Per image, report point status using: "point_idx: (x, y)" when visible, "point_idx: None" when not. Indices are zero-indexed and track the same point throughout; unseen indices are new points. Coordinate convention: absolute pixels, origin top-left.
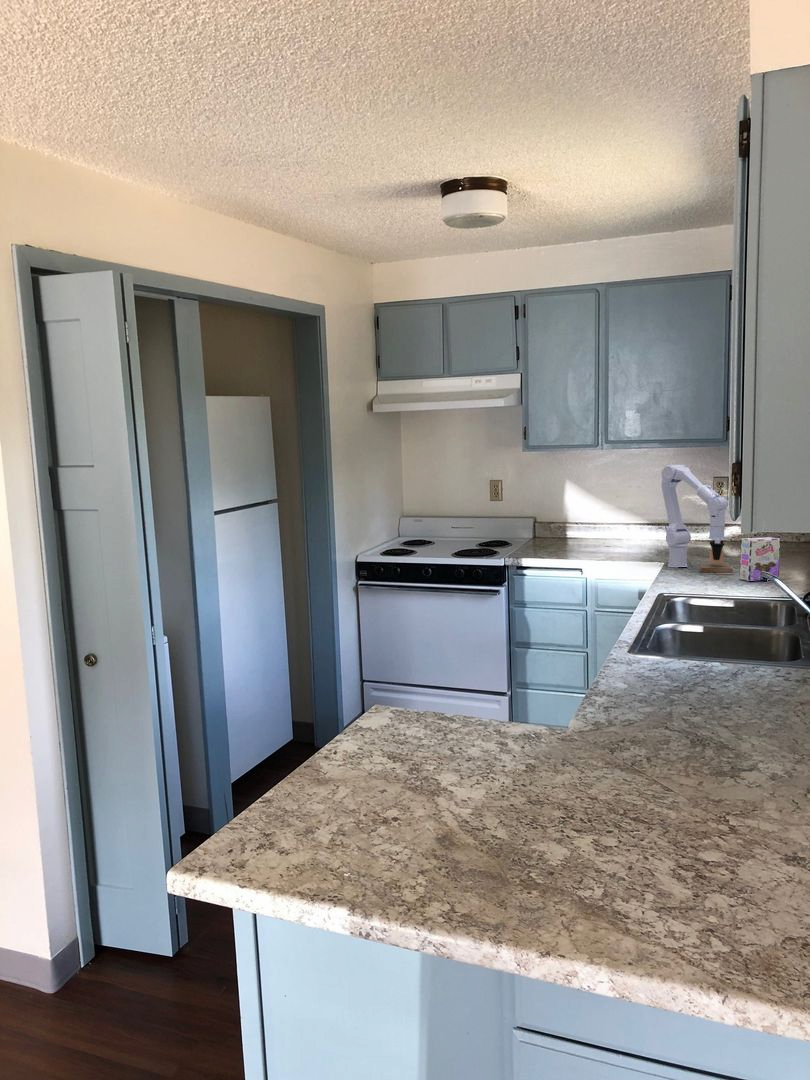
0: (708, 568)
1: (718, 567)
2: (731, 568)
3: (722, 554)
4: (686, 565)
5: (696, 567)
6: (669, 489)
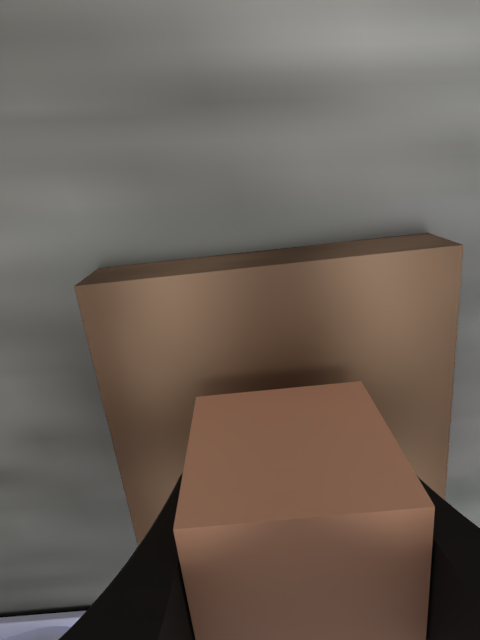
0: (441, 481)
1: (399, 401)
2: (455, 258)
3: (407, 472)
4: (48, 625)
5: (44, 551)
6: None
